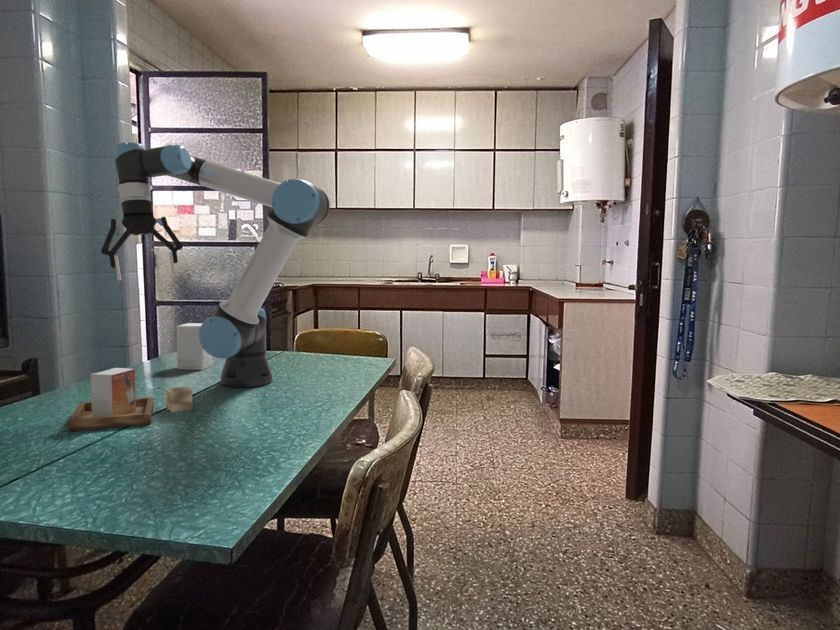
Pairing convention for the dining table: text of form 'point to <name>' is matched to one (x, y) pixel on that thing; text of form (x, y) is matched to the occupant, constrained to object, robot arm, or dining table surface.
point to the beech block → (179, 399)
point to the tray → (111, 417)
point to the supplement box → (191, 348)
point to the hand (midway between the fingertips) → (147, 277)
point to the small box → (113, 392)
